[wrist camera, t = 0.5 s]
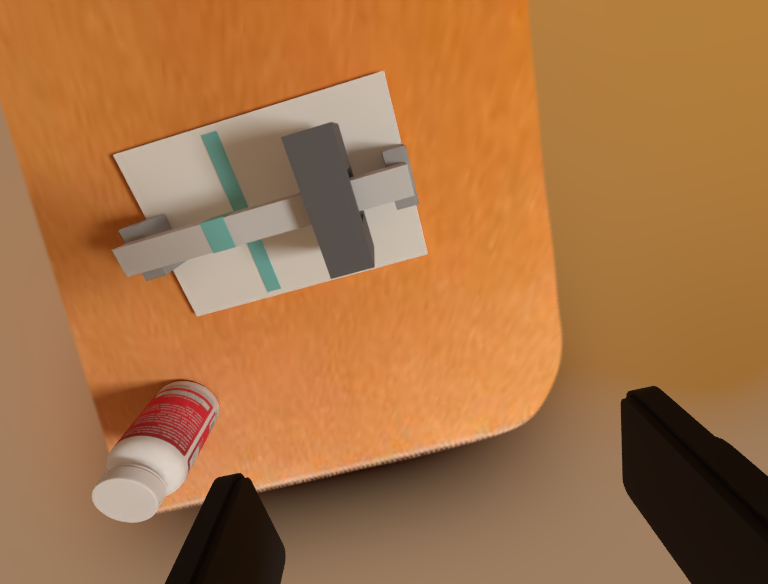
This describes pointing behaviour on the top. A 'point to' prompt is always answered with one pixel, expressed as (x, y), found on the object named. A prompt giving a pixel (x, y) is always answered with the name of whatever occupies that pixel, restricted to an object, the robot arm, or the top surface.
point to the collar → (330, 198)
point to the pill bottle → (156, 452)
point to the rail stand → (264, 198)
